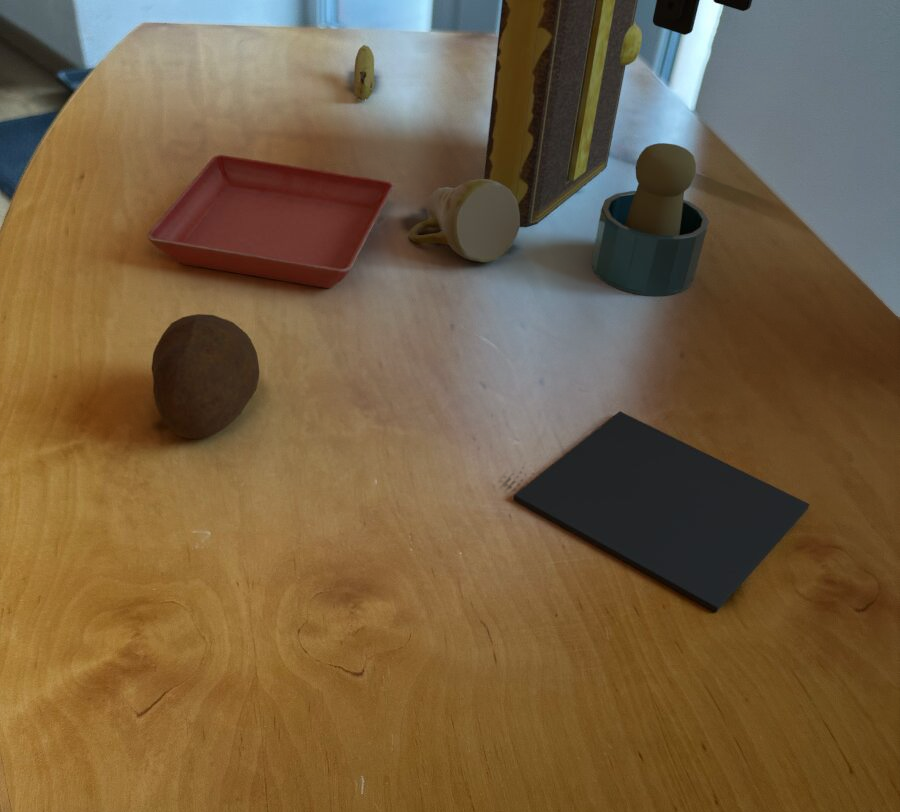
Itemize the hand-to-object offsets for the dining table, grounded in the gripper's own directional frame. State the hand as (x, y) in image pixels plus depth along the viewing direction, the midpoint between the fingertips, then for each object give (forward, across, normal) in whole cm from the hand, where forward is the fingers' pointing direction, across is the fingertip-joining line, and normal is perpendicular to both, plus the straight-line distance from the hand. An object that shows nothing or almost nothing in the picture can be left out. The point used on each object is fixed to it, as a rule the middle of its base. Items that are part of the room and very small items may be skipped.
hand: (702, 17), depth 80 cm
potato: (+22, -43, +12) cm, 50 cm away
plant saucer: (+22, -20, +27) cm, 41 cm away
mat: (+22, -28, -18) cm, 40 cm away
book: (+22, +10, +17) cm, 30 cm away
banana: (+23, +14, +47) cm, 54 cm away
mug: (+22, -8, +15) cm, 28 cm away
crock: (+22, +1, 0) cm, 22 cm away
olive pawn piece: (+22, +1, 0) cm, 22 cm away
